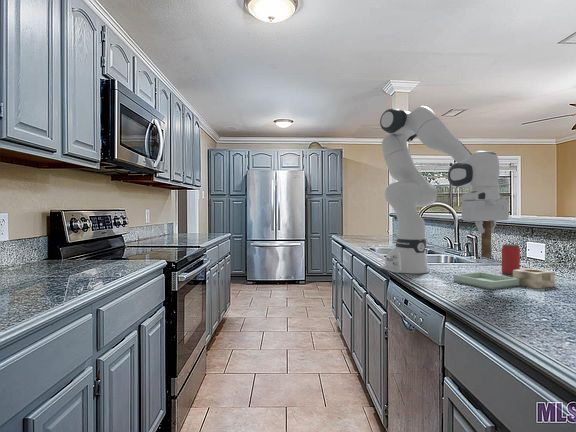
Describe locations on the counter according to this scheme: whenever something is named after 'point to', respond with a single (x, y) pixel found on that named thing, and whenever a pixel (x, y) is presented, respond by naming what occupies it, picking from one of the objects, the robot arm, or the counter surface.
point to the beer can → (510, 258)
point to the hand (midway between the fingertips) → (485, 233)
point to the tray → (486, 280)
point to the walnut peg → (486, 240)
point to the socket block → (535, 278)
